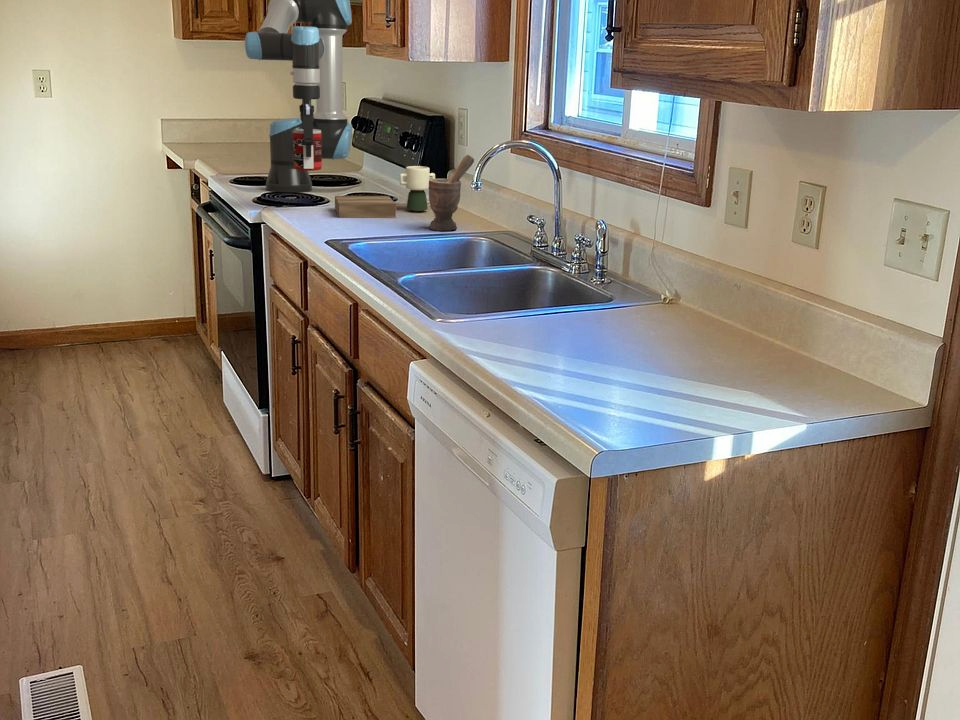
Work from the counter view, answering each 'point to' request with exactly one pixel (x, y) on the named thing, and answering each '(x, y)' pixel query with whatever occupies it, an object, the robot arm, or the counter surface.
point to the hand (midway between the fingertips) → (307, 166)
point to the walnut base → (365, 207)
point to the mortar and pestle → (447, 197)
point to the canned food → (298, 149)
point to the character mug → (417, 186)
